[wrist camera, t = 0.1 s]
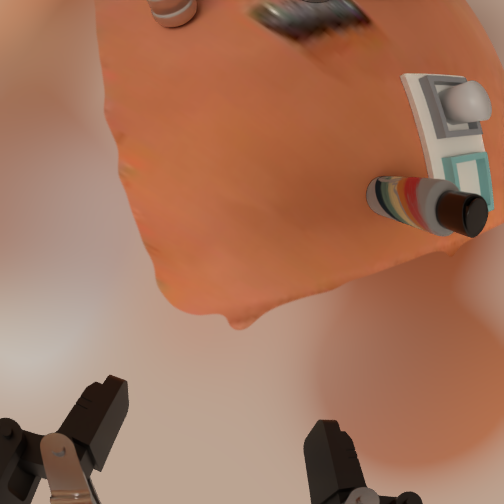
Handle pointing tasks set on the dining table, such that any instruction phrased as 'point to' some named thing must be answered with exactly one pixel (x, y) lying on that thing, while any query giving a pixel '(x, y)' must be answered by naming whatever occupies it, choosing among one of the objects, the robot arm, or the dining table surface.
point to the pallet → (452, 129)
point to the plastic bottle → (172, 11)
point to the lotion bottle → (428, 205)
